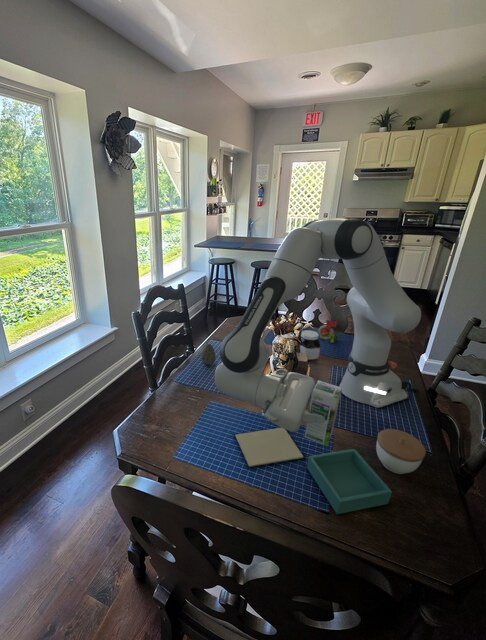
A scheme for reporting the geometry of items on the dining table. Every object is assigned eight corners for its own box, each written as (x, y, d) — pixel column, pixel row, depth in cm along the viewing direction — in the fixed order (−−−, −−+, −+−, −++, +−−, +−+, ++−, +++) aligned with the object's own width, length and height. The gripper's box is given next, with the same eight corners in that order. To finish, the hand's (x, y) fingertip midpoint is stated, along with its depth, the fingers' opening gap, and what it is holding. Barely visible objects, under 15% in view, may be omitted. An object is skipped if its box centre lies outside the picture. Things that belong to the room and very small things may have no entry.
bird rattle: (319, 345, 156) (339, 343, 149) (313, 324, 154) (332, 321, 148) (323, 340, 160) (342, 338, 154) (317, 319, 159) (336, 317, 153)
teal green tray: (351, 459, 89) (354, 448, 88) (388, 503, 77) (392, 491, 75) (306, 467, 87) (308, 456, 85) (337, 514, 75) (340, 502, 73)
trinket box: (399, 487, 81) (409, 459, 77) (363, 456, 90) (370, 430, 86) (427, 472, 85) (437, 445, 81) (389, 444, 94) (397, 419, 90)
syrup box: (303, 437, 81) (311, 390, 76) (310, 424, 86) (318, 378, 80) (327, 447, 78) (337, 398, 73) (332, 433, 83) (343, 386, 77)
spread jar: (320, 362, 137) (325, 338, 133) (296, 365, 135) (299, 340, 131) (306, 349, 148) (310, 326, 143) (283, 351, 146) (286, 328, 142)
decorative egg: (209, 370, 133) (209, 348, 129) (198, 365, 137) (198, 344, 133) (218, 364, 137) (218, 343, 133) (207, 359, 141) (207, 339, 137)
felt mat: (283, 428, 101) (284, 427, 101) (303, 457, 90) (303, 456, 90) (235, 435, 98) (235, 434, 98) (249, 467, 87) (249, 465, 87)
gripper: (259, 404, 76) (321, 425, 69) (283, 365, 92) (335, 379, 85) (257, 426, 78) (317, 447, 72) (281, 383, 94) (331, 398, 88)
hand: (327, 410), depth 78 cm, fingers closed on syrup box, 6 cm apart
